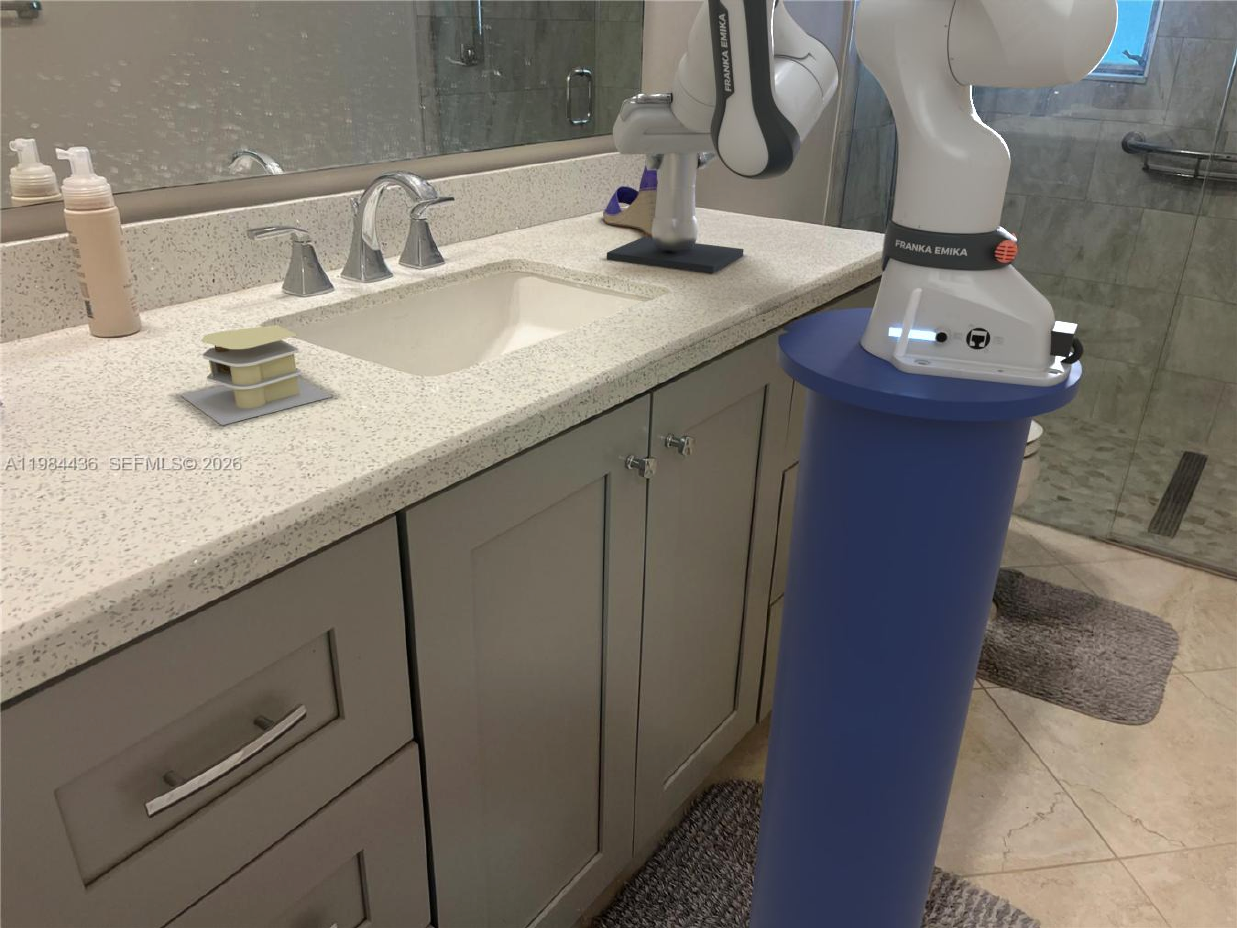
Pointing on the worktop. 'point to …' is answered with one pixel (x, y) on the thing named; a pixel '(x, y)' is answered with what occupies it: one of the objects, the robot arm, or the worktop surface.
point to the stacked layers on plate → (252, 375)
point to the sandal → (634, 204)
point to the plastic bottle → (675, 202)
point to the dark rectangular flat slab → (676, 256)
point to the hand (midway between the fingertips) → (676, 165)
